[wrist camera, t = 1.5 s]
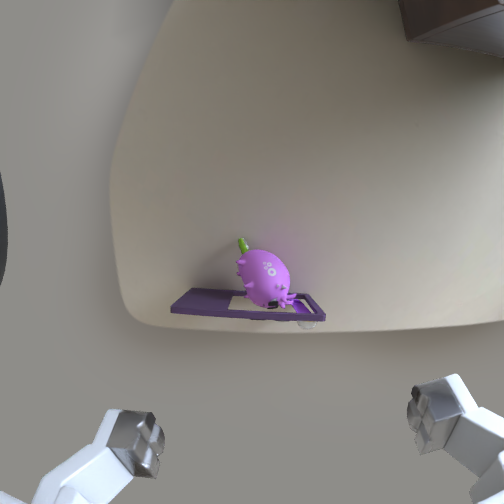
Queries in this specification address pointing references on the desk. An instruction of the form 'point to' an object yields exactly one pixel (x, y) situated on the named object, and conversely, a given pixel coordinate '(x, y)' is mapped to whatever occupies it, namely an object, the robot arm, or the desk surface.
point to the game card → (253, 293)
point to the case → (456, 24)
